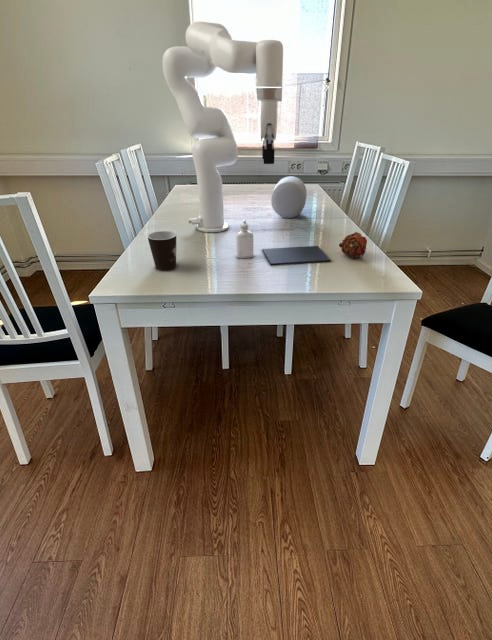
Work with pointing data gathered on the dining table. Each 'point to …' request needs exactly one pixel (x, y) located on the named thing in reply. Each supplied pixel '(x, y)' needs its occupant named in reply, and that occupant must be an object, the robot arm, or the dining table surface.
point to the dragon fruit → (354, 245)
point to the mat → (295, 255)
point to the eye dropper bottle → (244, 242)
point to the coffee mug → (163, 249)
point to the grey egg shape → (289, 197)
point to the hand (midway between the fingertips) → (268, 161)
